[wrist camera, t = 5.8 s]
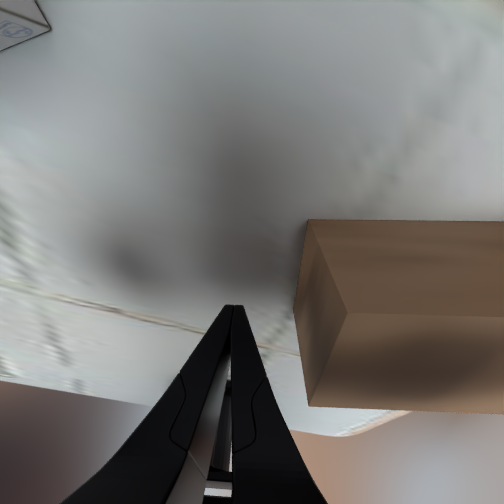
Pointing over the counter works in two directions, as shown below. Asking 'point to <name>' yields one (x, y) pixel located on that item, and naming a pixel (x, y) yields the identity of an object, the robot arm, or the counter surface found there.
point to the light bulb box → (19, 22)
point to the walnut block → (402, 315)
